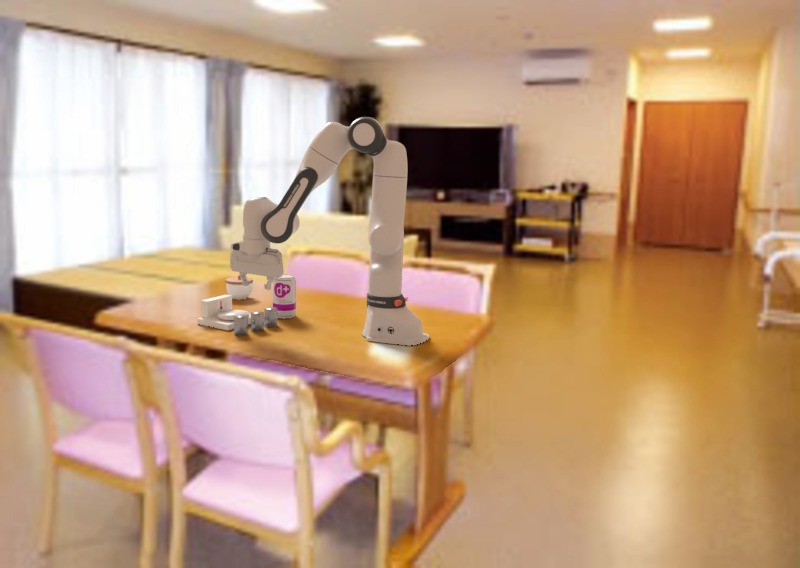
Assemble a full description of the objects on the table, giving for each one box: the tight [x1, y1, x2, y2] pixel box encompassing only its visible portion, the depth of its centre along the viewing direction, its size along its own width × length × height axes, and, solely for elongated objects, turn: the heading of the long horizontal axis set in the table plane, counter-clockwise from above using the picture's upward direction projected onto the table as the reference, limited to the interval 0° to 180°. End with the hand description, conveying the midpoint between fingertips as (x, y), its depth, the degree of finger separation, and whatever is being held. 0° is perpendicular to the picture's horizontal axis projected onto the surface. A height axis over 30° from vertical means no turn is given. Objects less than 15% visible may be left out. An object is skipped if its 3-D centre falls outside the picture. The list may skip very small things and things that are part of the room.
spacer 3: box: [263, 306, 278, 328], centre depth 241 cm, size 4×4×6 cm
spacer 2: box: [250, 310, 265, 333], centre depth 235 cm, size 4×4×6 cm
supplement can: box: [272, 273, 297, 320], centre depth 253 cm, size 8×8×15 cm
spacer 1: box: [233, 315, 249, 337], centre depth 229 cm, size 4×4×6 cm
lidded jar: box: [225, 274, 254, 301], centre depth 280 cm, size 11×11×9 cm
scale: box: [196, 294, 251, 331], centre depth 242 cm, size 14×16×8 cm
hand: (256, 287), depth 233 cm, fingers open, 8 cm apart
